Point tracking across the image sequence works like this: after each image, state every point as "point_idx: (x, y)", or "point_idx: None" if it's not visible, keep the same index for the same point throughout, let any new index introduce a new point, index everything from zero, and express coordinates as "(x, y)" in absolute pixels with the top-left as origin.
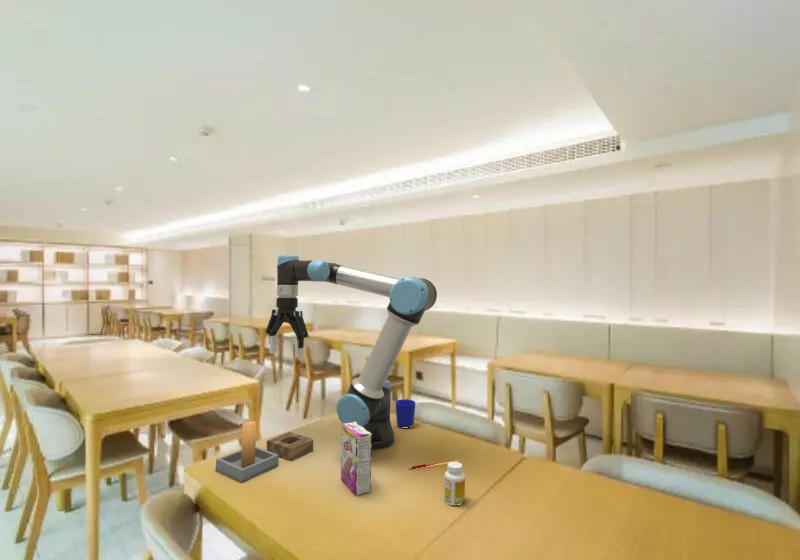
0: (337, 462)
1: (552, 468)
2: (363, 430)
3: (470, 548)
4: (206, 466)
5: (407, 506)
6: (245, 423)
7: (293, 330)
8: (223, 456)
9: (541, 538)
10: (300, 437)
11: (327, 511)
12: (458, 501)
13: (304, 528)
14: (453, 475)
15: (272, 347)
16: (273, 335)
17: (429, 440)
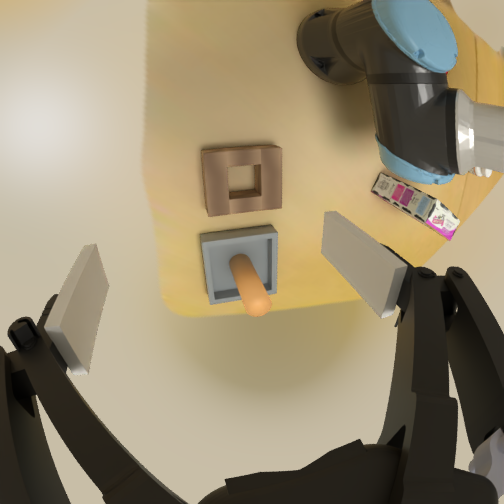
0: (339, 153)
1: (491, 57)
2: (452, 220)
3: (471, 210)
4: (182, 297)
5: (438, 192)
6: (255, 312)
7: (394, 371)
8: (209, 294)
9: (493, 173)
10: (251, 158)
11: (389, 247)
12: None
13: None
14: (482, 174)
15: (99, 301)
16: (59, 353)
17: None
